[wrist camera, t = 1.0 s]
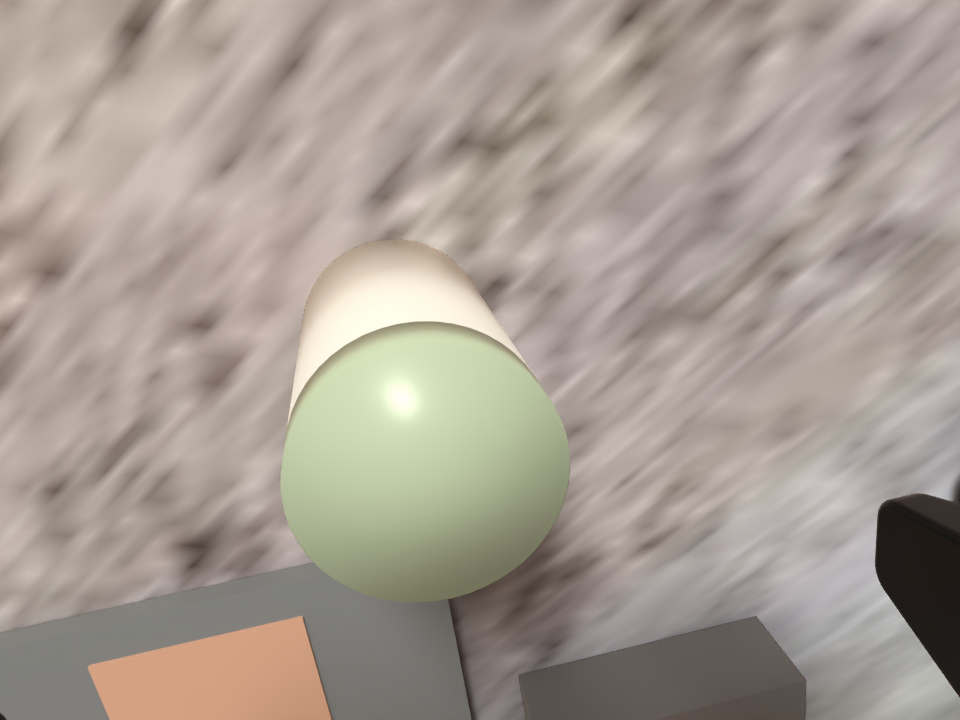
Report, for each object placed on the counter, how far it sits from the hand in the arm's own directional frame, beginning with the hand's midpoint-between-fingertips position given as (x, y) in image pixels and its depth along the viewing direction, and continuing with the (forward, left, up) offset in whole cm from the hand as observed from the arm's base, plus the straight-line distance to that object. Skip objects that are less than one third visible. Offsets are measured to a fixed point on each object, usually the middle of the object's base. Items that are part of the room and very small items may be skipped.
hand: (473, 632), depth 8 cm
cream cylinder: (0, 0, -10) cm, 10 cm away
